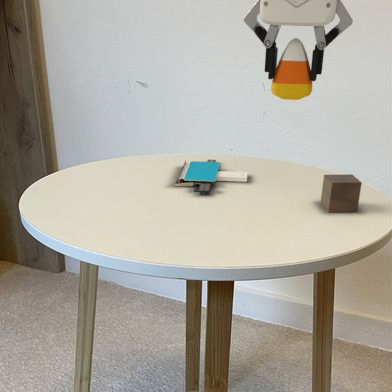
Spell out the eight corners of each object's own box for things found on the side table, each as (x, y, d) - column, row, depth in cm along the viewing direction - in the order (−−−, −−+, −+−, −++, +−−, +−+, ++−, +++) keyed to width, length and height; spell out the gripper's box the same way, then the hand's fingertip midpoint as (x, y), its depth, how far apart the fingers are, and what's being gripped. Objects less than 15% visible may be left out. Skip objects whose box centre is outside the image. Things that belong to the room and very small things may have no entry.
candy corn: (310, 98, 89) (317, 37, 85) (311, 101, 86) (317, 39, 82) (270, 96, 90) (274, 36, 85) (269, 99, 87) (274, 38, 83)
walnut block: (348, 202, 93) (352, 174, 91) (357, 211, 89) (361, 182, 87) (320, 203, 93) (323, 174, 90) (328, 212, 89) (332, 182, 86)
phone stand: (245, 196, 95) (246, 186, 94) (171, 193, 96) (171, 183, 95) (247, 164, 112) (248, 155, 111) (184, 162, 113) (184, 153, 112)
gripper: (235, -77, 76) (229, 79, 85) (374, -78, 72) (352, 85, 82) (245, -72, 82) (239, 73, 91) (374, -72, 79) (353, 78, 88)
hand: (292, 77), depth 86 cm, fingers closed on candy corn, 5 cm apart
